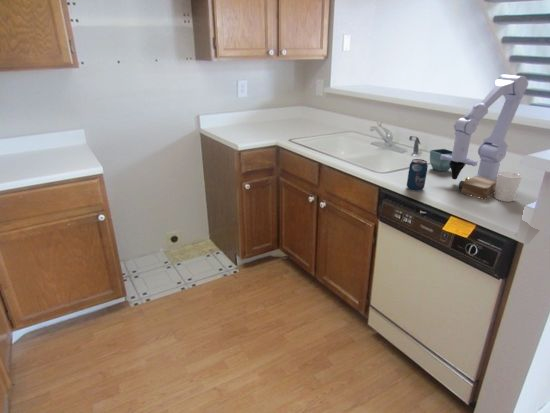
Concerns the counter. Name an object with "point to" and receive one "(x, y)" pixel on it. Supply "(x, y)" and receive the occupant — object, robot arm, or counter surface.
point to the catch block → (479, 187)
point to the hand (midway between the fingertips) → (454, 178)
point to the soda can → (417, 174)
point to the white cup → (507, 185)
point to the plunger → (460, 185)
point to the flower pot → (436, 161)
